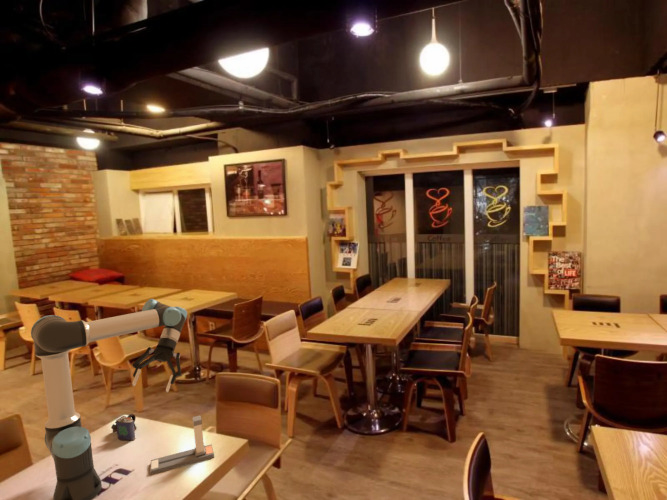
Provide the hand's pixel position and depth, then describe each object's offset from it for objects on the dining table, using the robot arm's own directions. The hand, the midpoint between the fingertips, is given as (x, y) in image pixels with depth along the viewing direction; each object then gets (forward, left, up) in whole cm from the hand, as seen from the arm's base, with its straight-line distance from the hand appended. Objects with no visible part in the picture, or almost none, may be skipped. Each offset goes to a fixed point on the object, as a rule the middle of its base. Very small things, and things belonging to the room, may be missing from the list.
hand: (150, 388), depth 172 cm
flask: (-26, -2, -30) cm, 40 cm away
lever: (+14, +12, -28) cm, 34 cm away
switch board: (+11, +5, -30) cm, 32 cm away
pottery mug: (-34, +1, -30) cm, 46 cm away
